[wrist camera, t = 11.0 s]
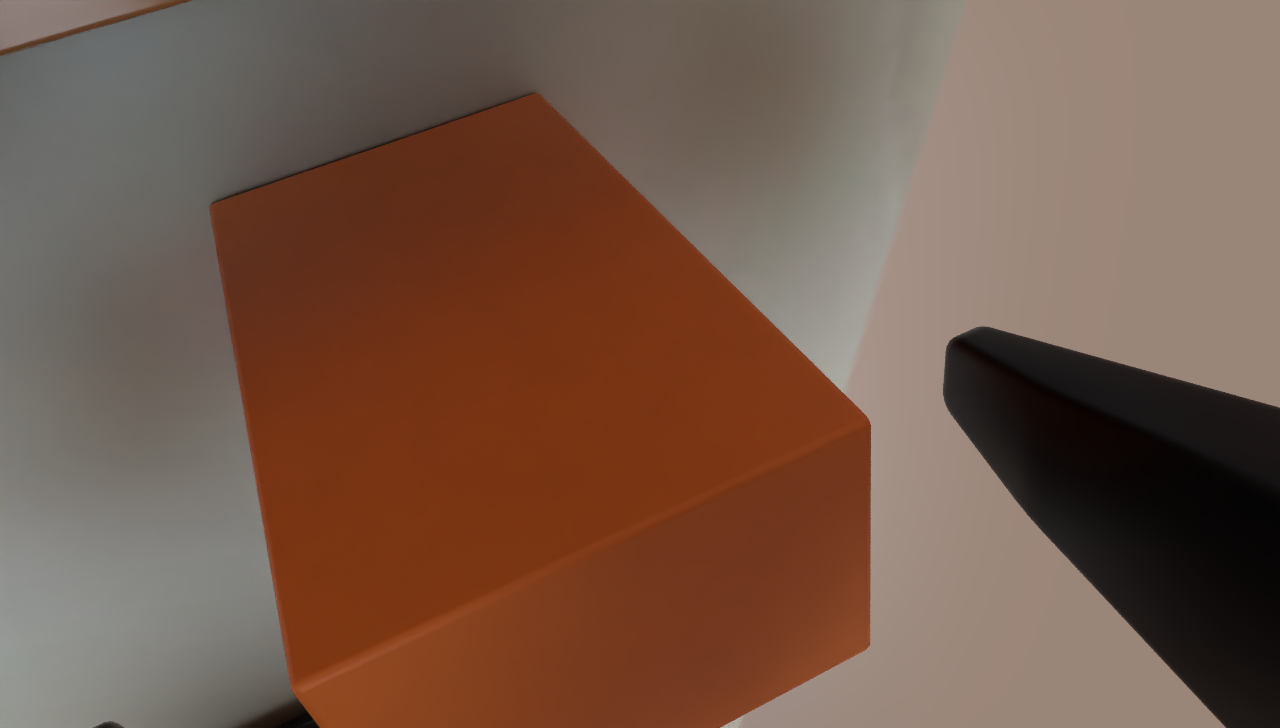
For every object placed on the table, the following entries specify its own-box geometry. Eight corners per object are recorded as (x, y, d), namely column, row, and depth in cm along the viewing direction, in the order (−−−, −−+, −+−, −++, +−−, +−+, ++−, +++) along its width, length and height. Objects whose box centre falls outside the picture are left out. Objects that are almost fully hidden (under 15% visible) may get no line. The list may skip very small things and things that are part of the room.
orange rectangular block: (538, 89, 14) (875, 418, 8) (583, 277, 16) (873, 649, 10) (206, 202, 13) (288, 693, 7) (304, 387, 15) (434, 883, 9)
